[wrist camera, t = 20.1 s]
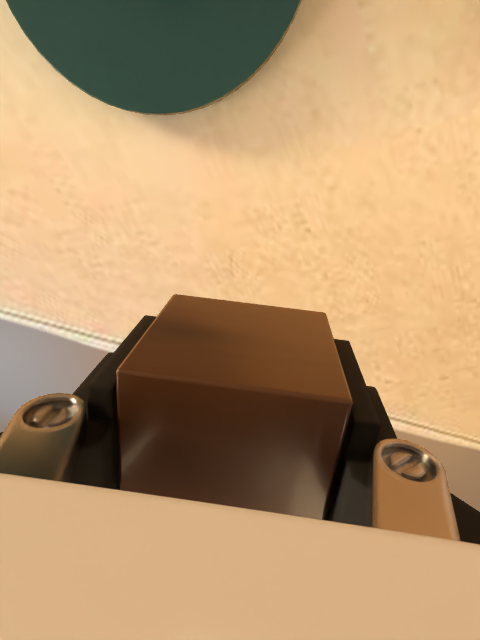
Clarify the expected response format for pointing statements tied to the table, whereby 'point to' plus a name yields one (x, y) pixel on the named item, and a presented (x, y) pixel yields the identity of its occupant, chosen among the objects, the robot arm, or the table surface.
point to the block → (233, 407)
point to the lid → (156, 47)
